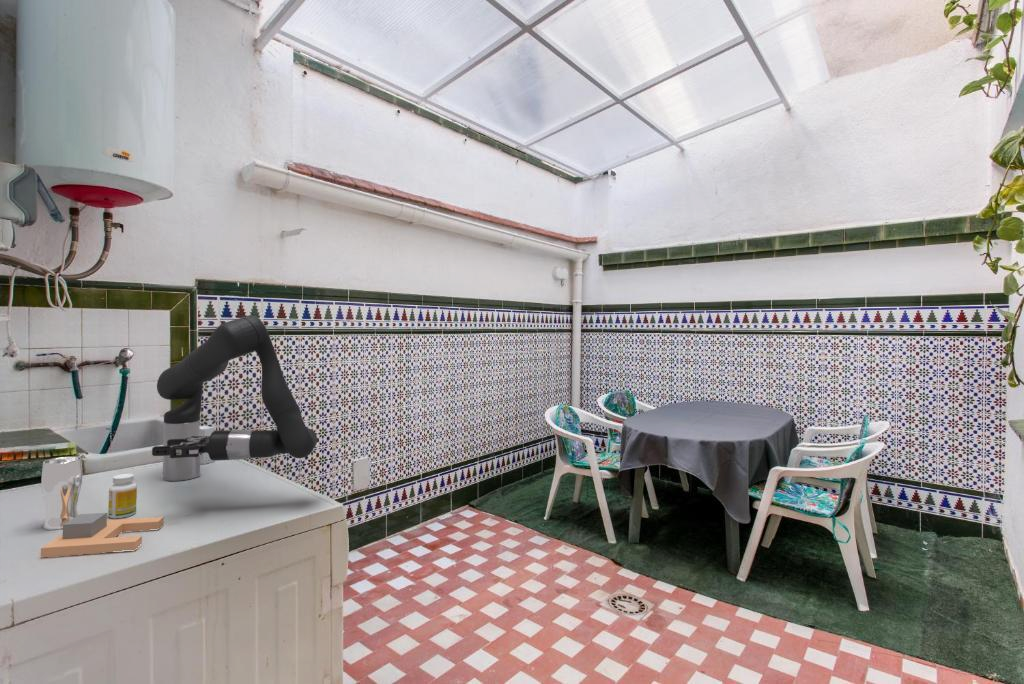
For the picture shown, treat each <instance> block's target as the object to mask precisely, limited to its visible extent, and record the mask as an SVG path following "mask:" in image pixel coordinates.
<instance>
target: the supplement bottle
mask: <svg viewBox="0 0 1024 684" xmlns="http://www.w3.org/2000/svg"><path fill="white" fill-rule="evenodd" d="M134 479H135V475H134V473H122V474H116V475H114V476H113V478H112V485H111V486H110V487H109V488H108V508H107V509H108V512H107V517H109V518H110V519H112V520H118V519H125V518H129V517H131V516H134V515H135V514H136V513H137V497H138V496H137V494H138V486H137V483H136V482H133V481H134ZM124 517H125V518H124ZM117 518H118V519H117Z"/></svg>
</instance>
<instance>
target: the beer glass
mask: <svg viewBox="0 0 1024 684" xmlns="http://www.w3.org/2000/svg"><path fill="white" fill-rule="evenodd" d="M40 481H41V492H42V495H43V496H42V497H43V501H44V505H45V519H44V523H43V527H42V528H43V529H44V530H46V531H56V530H63V524H65V523H66V522H68V521H70V520H71V519H73V518H75V517H76V516H78V515H79V514H78V501H79V497H80V493H81V490H82V489H81V488H82V484H83V465H82V457H81V456H61V457H55V458H50V459H46V460H44V461H43V462H42V469H41V480H40Z"/></svg>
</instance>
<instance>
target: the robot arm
mask: <svg viewBox="0 0 1024 684" xmlns="http://www.w3.org/2000/svg"><path fill="white" fill-rule="evenodd" d="M253 352H255V353H256V355H257V357H258V359H259V361H260V365H261V385H260V386H261V387H260V393H261V394H260V395H261V399H262V403H263V405H264V407H265V408H266V410H267V413H268V414H269V415H270V418H271V419H272V420H271V421H273V423H274V424H275V426H276V429H273V430H272V429H271V430H270V429H268V430H267V429H261V430H260V429H259V430H249V429H227V430H222V429H221V430H215V431H213V432H212V433H211V435H210V436H199V435H200V426H201V421H200V420H201V413H202V399H203V387H204V386H203V385H204V383H206V382H209V381H212V380H213V379H215V378H216V377H218V376H219V375H221V374H222V373H223V372H224V371H226V369H228V365H229V362H230V361H231V360H233V359H238V358H241V357H243V356H245V355H248V354H250V353H251V354H252V353H253ZM156 391H157V393H158V395H159V396H160V397H161V398H163V399H164V400H167V401H168V400H169V401H170V400H171V401H172V400H173V401H175V400H184V401H183V403H181V404H180V405H179V406H177V407H175V408H172V409H170V410H168V411H166V412H165V413H164V414H163V438H162V441H163V443H162V445H157V446H156V445H155V446H152V448H151V454H152V457H162V480H163V481H167V482H180V481H186V480H192V479H195V478H199V477H201V464H200V455H202V453H208V454H209V458H210V459H211V460H213V461H214V462H216V461H237V460H238V461H239V460H246V459H261V458H271V457H274V456H276V455H280V454H281V455H282V454H288V455H289V456H290V457H292V458H295V459H303V458H307V457H308V456H310V454H312V452H313V451H314V449H315V448H316V445H318V444H317V443H318V436H317V434H316V432H315V431H314V430H313V429H311V428H309V427H307V425H306V423H305V422H304V419H303V418H302V411H301V408H300V405H299V404H298V402H297V401H296V399H295V397H294V395H293V393H292V391H291V389H290V388H289V385H288V383H287V381H286V379H285V375H284V373H283V371H282V367H281V364H280V362H279V358H278V356H277V352H276V349H275V348H274V345H273V342H272V338H271V336H270V334H269V332H268V330H267V327H266V325H265V324H264V322H263V321H262V320H261V319H260V318H259V317H258V316H255V315H245V316H242V317H240V318H236V319H233V320H229V321H226V322H223V323H222V324H220V325H218V326H217V327H216V328H215V330H214V331H212V333H211V335H209V337H208V338H207V339H206V341H204V342H203V343H202V344H200V345H199V346H197V347H196V348H195V349H193V350H192V351H191V352H190V353H188V355H187V356H185V357H184V358H183V359H181V360H180V361H179V362H177V363H175V364H174V365H173V366H170V367H168V368H167V369H164V370H163V372H162V373H161V374H160V375H159V376H158V379H157V383H156Z"/></svg>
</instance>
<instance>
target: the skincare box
mask: <svg viewBox="0 0 1024 684" xmlns="http://www.w3.org/2000/svg"><path fill="white" fill-rule="evenodd" d="M213 431H216V427H215V426H209V425H200V435H199V436H210V435H211V433H212V432H213ZM214 462H215V461H213V460H211V459H210V458H209V454H208V453H202V455H200V465H206V464H211V463H214Z"/></svg>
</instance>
